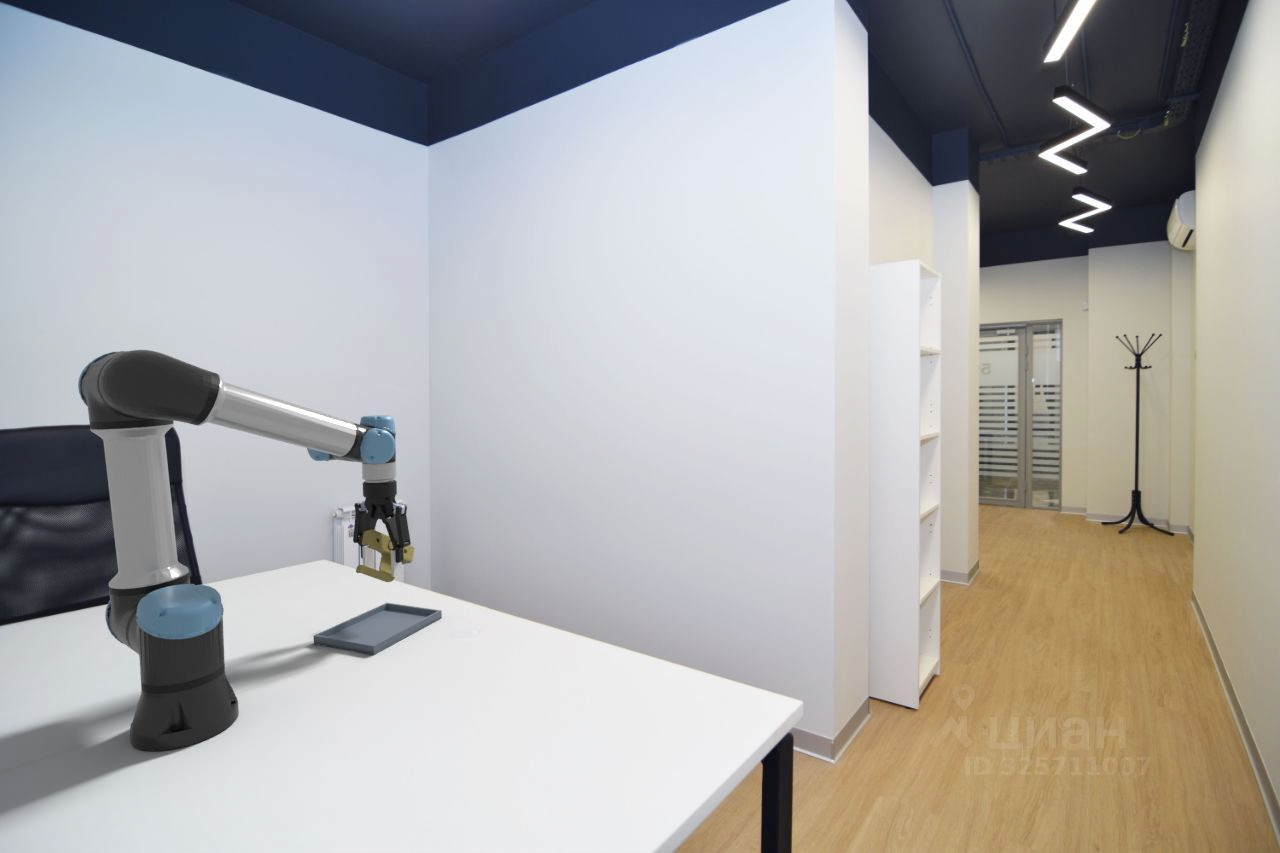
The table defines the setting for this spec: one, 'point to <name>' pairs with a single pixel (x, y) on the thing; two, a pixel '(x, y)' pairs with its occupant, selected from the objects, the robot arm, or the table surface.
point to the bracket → (384, 547)
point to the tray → (377, 628)
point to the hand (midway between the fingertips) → (382, 573)
